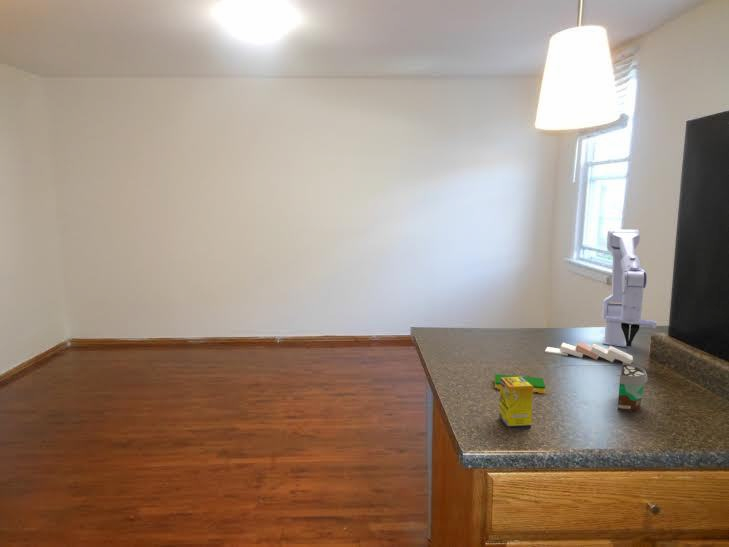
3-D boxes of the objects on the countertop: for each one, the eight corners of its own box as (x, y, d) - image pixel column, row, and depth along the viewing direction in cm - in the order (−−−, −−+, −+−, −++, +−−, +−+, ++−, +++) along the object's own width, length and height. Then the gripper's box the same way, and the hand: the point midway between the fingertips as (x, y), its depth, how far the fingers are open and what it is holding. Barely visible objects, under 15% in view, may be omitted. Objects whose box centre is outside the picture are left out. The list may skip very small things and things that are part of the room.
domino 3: (596, 360, 156) (575, 349, 159) (597, 356, 160) (576, 345, 163) (599, 355, 155) (577, 345, 159) (600, 351, 160) (579, 341, 163)
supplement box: (498, 418, 115) (499, 377, 113) (521, 416, 115) (522, 376, 114) (507, 429, 109) (509, 386, 107) (531, 428, 109) (533, 385, 108)
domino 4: (612, 362, 154) (590, 351, 157) (613, 358, 158) (591, 347, 161) (615, 358, 153) (592, 347, 156) (615, 353, 157) (593, 343, 160)
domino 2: (581, 358, 158) (559, 350, 162) (583, 354, 163) (561, 346, 166) (583, 353, 158) (561, 346, 162) (584, 349, 162) (562, 342, 166)
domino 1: (567, 358, 161) (544, 355, 165) (568, 354, 165) (547, 351, 169) (567, 354, 161) (545, 350, 165) (569, 349, 165) (547, 346, 169)
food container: (644, 418, 114) (648, 380, 112) (617, 412, 117) (620, 375, 116) (645, 400, 124) (648, 365, 123) (619, 395, 127) (622, 361, 126)
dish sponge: (494, 381, 140) (495, 373, 139) (542, 385, 136) (542, 377, 136) (495, 390, 133) (495, 382, 132) (545, 394, 129) (545, 386, 129)
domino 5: (629, 365, 151) (606, 354, 154) (630, 360, 155) (607, 349, 158) (632, 360, 150) (609, 349, 154) (632, 356, 155) (610, 345, 158)
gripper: (606, 306, 151) (603, 345, 153) (658, 311, 144) (654, 352, 146) (607, 302, 157) (604, 340, 159) (657, 306, 150) (653, 346, 152)
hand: (628, 345), depth 153 cm, fingers closed
